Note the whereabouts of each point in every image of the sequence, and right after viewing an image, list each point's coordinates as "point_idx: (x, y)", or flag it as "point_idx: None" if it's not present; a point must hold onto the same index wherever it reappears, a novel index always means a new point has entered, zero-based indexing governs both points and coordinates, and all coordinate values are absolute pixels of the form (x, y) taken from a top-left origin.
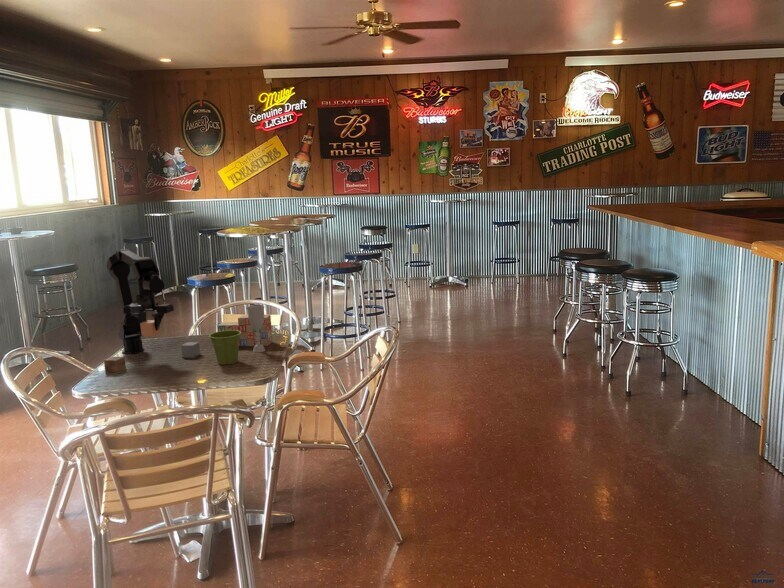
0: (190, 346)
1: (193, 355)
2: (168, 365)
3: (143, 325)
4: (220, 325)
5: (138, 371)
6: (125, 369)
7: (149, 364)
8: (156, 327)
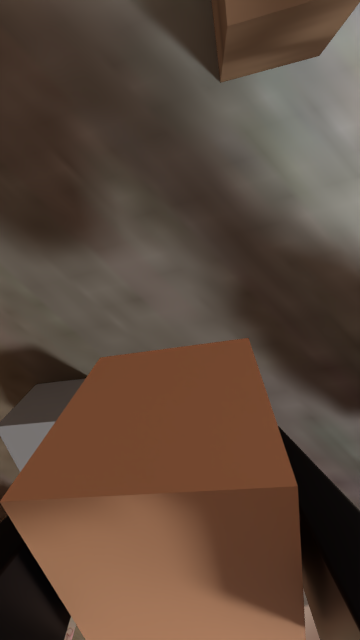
0: (10, 421)
1: (30, 390)
2: (31, 245)
3: (210, 443)
4: None
5: (93, 69)
6: (219, 72)
7: (153, 231)
8: None
